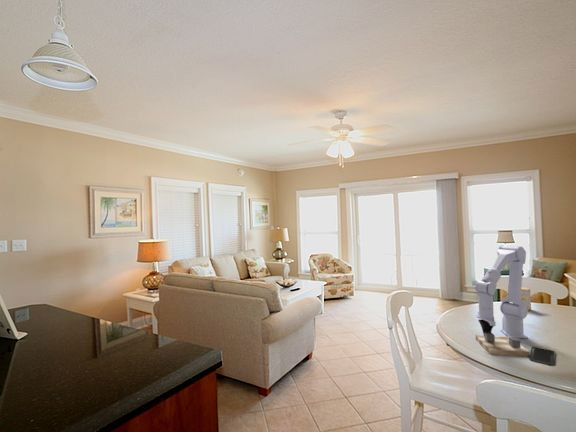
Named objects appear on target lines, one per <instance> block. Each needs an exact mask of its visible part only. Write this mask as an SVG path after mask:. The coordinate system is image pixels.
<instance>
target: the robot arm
mask: <svg viewBox="0 0 576 432" xmlns="http://www.w3.org/2000/svg"><path fill="white" fill-rule="evenodd" d="M496 253H497V257H496V259H495V262H494V264H493V266H492V268H488V270H487V271H486V273H485V274H484V276H483V277H482V279H481V280H479V281H477V282H476V283H475V286H474V289H475V292H476V295H477V297H478V312H477V315H476V318H477V319H478V323H479V324H480V327H481V331H482V334H483V335H484V332H487V333H492V330H493V328H494V327H496V325H497V324H496V323H497V322H496V320H495V315H494V294H495V293H496V291H497V286H498V285H497V284H498V282H499V281H500V278H501V277H502V274H501V272H502V271H503V269H505V267H506V266H507V264H509V272H508V273H509V274H508V287H507V296H505V297H504V298H502V299H501V303H500V305H499V306H500V307H499V310H500V312H501V313H502V318H501V319H502V320H501V321H502V322H501V323H502V329H500V332H502V333H503V334H504V335H506V337H512V338H518V339H528V336H527V335H525V334H524V319H525V318H526V317H527V316H528V312H529V310H527V304H526V303H525V302H524V301H523V300H522V299H521V287H522V285H523V284H522V283H523V269H524V265H525V264H526V258H527V250H525V249H524V247H523V246H514V245H513V246H512V245H502V244H501V245H500V246H499V247H498V248H497V251H496ZM513 303H516V304H513ZM517 304H518V305H517ZM484 336H485V335H484Z"/></svg>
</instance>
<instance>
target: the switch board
mask: <svg viewBox="0 0 576 432" xmlns="http://www.w3.org/2000/svg"><path fill="white" fill-rule="evenodd" d="M475 341H477V342H478V344H480V346H481V347H483V348H484V350H486V351H487V353H488V354H490V355H499V356H516V357H517V356H519V357H529V356H530V352H531V351H529V350H528V349H527V348H525V347H524V346H523V345H522V344H521V343H520V347H512V346H511V345H510V344H509V337H508V336H503V335H502V336H501V335H498V336H497V335H495V342H489V341H486V340H485V336H484V334H483V335H481V334H480V335H479V334H476V335H475Z"/></svg>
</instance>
